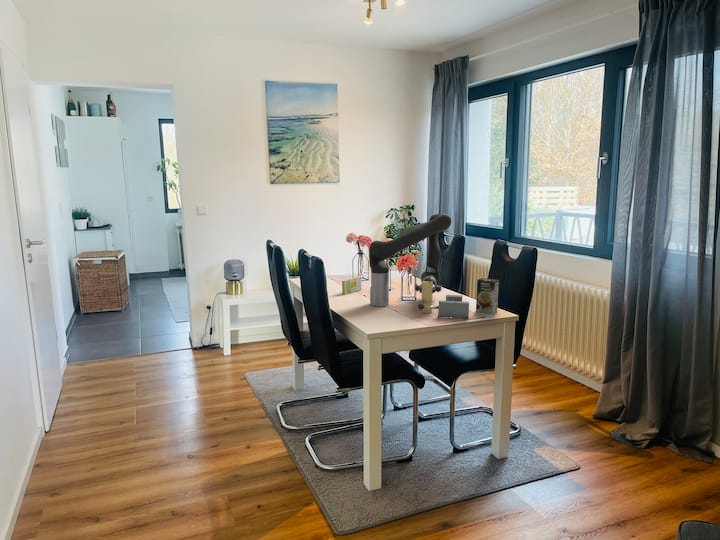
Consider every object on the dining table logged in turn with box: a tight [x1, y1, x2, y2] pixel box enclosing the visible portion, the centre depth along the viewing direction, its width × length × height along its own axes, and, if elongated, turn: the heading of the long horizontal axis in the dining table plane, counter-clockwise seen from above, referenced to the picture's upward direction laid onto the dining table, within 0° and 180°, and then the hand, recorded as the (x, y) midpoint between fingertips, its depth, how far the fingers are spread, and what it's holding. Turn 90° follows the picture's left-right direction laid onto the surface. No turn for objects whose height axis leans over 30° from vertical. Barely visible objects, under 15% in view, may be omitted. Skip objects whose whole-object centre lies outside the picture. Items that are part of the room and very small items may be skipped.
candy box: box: [341, 276, 362, 296], centre depth 310 cm, size 16×2×8 cm, turn 144°
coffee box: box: [475, 277, 500, 315], centre depth 264 cm, size 9×6×16 cm
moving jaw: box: [445, 294, 463, 302], centre depth 266 cm, size 8×4×8 cm, turn 80°
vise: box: [417, 300, 470, 320], centre depth 261 cm, size 24×15×8 cm, turn 80°
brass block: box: [421, 281, 434, 314], centre depth 264 cm, size 5×5×15 cm
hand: (427, 291), depth 261 cm, fingers closed on brass block, 5 cm apart
